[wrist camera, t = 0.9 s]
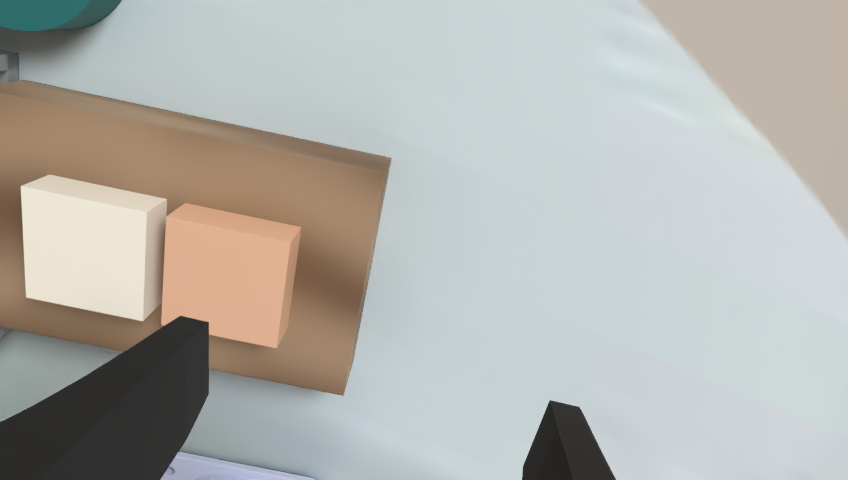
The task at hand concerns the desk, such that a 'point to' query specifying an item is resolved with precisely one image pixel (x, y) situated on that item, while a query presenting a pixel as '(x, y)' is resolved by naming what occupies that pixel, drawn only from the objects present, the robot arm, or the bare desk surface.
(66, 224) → the cream tile
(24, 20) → the bracket
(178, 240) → the terracotta tile
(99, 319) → the walnut board
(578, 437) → the robot arm
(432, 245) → the desk surface
